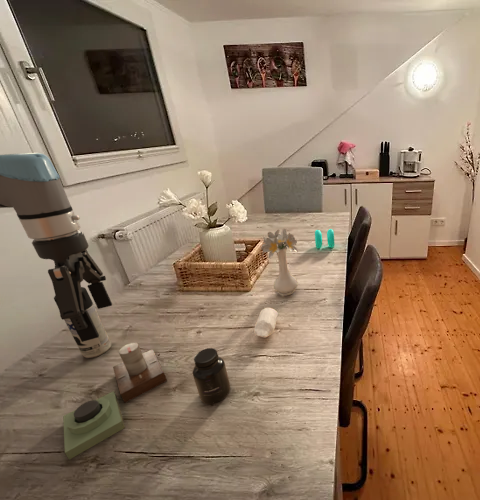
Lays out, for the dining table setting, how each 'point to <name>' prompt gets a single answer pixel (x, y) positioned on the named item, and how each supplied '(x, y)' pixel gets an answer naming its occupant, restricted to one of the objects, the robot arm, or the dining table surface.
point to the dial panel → (139, 378)
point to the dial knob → (133, 358)
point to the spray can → (102, 342)
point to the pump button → (87, 411)
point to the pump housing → (92, 426)
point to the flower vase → (281, 260)
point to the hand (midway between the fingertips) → (98, 321)
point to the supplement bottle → (210, 376)
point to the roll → (266, 322)
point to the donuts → (329, 238)
